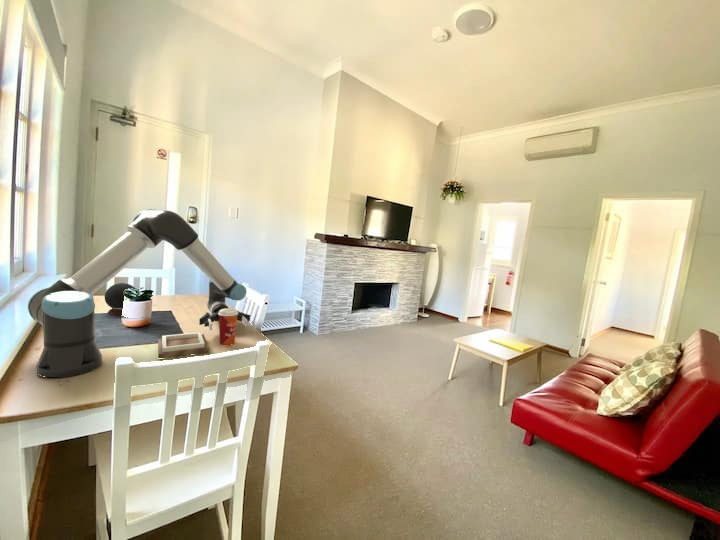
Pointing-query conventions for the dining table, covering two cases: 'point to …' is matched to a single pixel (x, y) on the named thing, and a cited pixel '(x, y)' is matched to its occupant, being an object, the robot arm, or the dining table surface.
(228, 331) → the paper cup
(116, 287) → the round bulbous part
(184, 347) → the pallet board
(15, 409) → the dining table surface
